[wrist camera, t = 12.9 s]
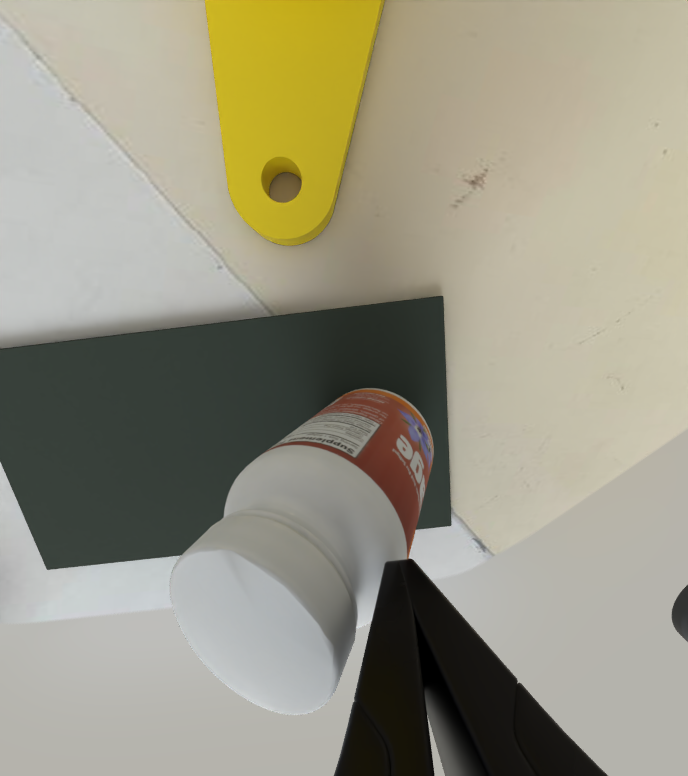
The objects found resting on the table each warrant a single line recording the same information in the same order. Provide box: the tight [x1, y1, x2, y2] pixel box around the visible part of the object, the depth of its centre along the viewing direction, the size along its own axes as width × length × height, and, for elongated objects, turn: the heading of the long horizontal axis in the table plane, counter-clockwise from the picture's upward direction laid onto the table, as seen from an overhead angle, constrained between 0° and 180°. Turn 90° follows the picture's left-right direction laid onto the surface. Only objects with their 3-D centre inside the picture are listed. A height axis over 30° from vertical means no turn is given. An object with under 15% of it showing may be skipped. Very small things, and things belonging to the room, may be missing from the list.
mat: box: [0, 296, 451, 570], centre depth 19 cm, size 26×14×1 cm, turn 97°
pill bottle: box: [170, 388, 434, 715], centre depth 12 cm, size 6×6×11 cm
